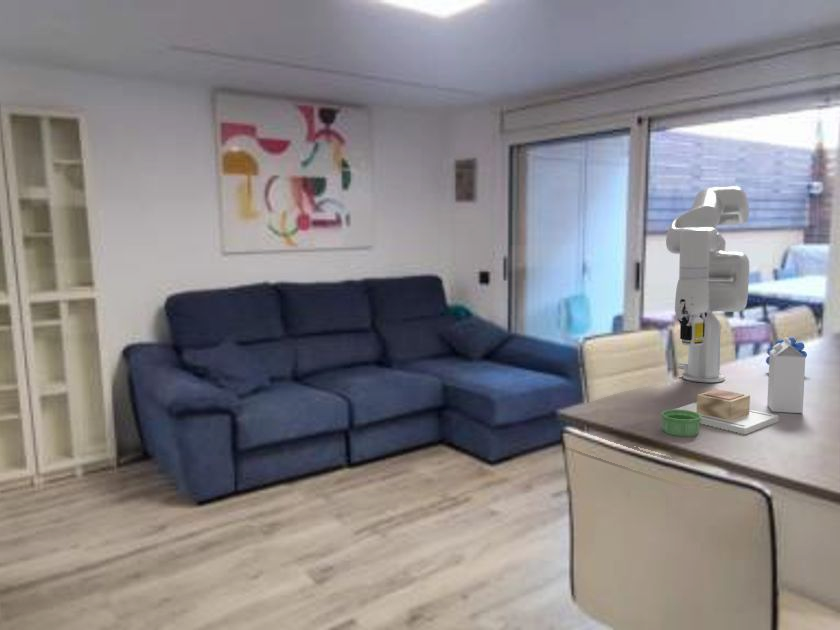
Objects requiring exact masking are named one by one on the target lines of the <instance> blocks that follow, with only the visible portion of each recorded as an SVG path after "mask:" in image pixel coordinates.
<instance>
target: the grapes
mask: <svg viewBox="0 0 840 630" xmlns="http://www.w3.org/2000/svg"><path fill="white" fill-rule="evenodd" d="M787 339H789V340H790V341H791V346H792V347H793V348H795V349H796V350H797V351H798V352H800V353H801V354H802V355H803V356H804V357H805V359H806V358H807V356H808V354H807V352H806V350H804V348H805V343H803V342H800V341H798V342H797V340H796V339H795V338H794V337H787ZM784 341H785V339H778V340H776V341H775V342H774V346H775V345H776V344H778V343H782V342H784ZM774 346H770V347H769V348H768V349H767V350H766V354H767V355H768V357H766V358H765V363H766V364H767V365H768V366H769V356H770V351H771V350H772V349H774V348H773V347H774Z"/></svg>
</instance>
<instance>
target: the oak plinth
mask: <svg viewBox="0 0 840 630" xmlns="http://www.w3.org/2000/svg"><path fill="white" fill-rule="evenodd" d="M696 402H697V409H696V413H700V414H704V415H709V416H713V417H717V418H722V419H726V420H733V419H736V418H739V417H741V416H744V415H747V414H749V410H751V409H750V407H751V406H750V404H751V395H748V394H744V393H740V392H739V393H738V392H734V391H728V390H723V389H717V388H716V389H711V390H709V391H705V392H703V393H699V394H696Z"/></svg>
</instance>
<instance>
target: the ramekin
mask: <svg viewBox="0 0 840 630" xmlns="http://www.w3.org/2000/svg"><path fill="white" fill-rule="evenodd" d="M660 414H661V415H660V416H661V418H662V419H661V420H662V430H663V431H664V432H665V433H666V434H668V435H671V436H675V435H676V436H675V437H685V436H687V437H693V436H694V435H695V436H696V435H698V434H699V432H700V425H701V424H700V420H701V415H700V414H699V413H696V412H693V411H688V410H680V409H676V408H674V409H673V408H672V409H667V410H663V411H661V413H660Z"/></svg>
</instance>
